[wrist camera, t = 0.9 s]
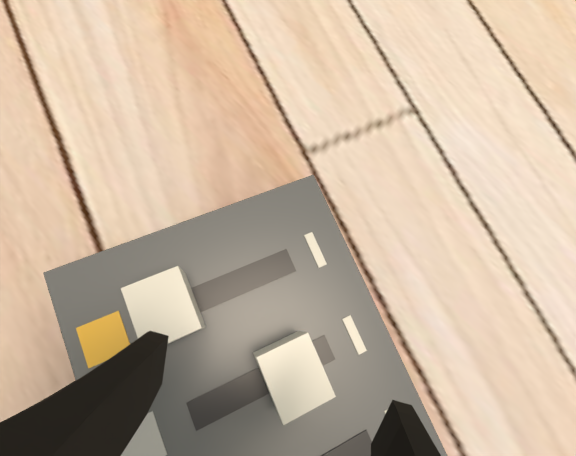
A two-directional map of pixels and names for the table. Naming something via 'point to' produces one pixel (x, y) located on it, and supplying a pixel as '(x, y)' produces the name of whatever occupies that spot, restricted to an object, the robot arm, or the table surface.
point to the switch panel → (245, 329)
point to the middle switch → (294, 376)
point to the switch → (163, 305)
